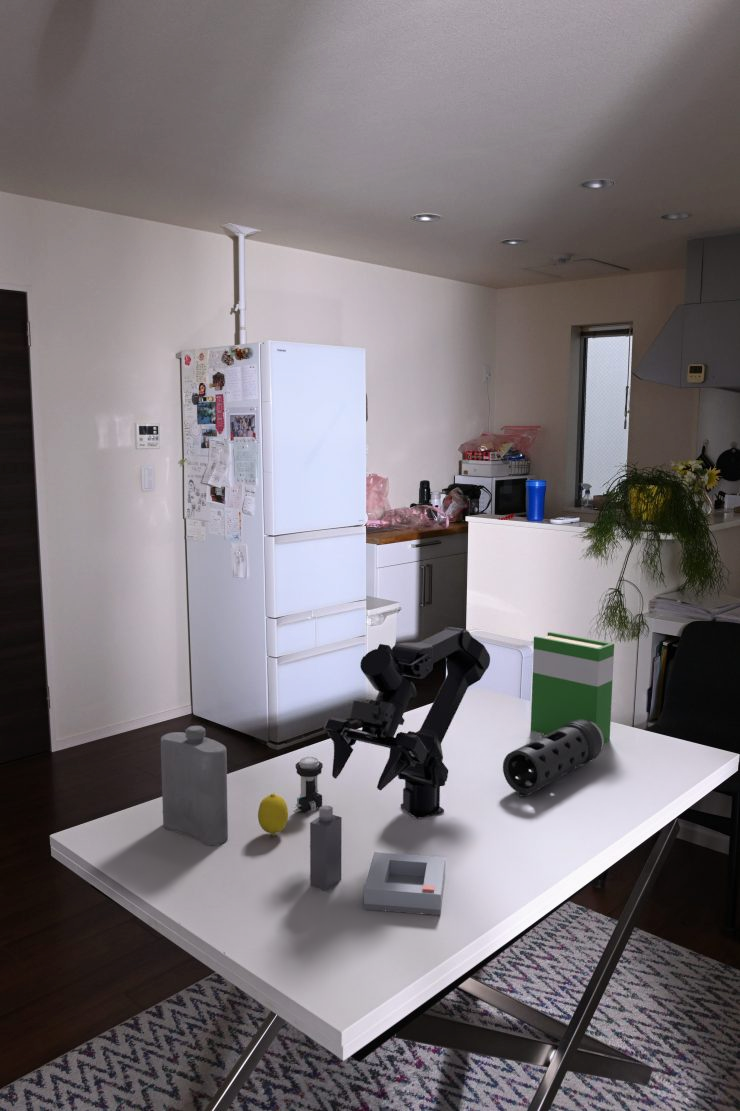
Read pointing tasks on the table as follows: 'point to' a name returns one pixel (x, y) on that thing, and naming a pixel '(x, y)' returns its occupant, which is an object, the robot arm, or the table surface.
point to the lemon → (273, 814)
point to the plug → (325, 849)
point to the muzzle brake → (552, 756)
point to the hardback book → (571, 682)
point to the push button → (308, 784)
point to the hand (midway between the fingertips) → (355, 783)
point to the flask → (195, 785)
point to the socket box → (405, 883)
